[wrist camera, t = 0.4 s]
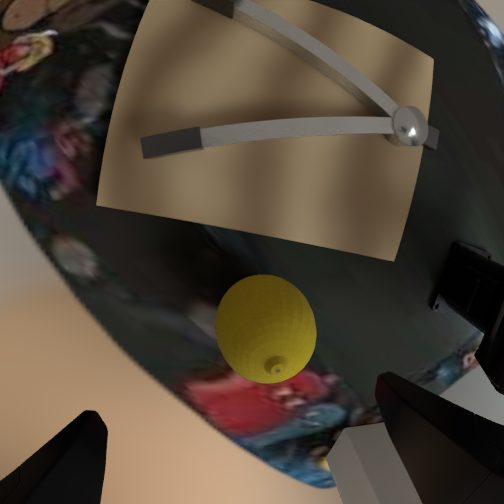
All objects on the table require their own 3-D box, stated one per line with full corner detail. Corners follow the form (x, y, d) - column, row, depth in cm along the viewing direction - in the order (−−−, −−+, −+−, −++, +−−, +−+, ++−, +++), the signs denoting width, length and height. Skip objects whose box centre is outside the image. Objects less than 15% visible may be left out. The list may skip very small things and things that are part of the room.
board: (424, 62, 16) (433, 59, 15) (385, 256, 21) (393, 261, 19) (163, -17, 13) (161, -25, 12) (103, 202, 17) (96, 205, 16)
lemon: (215, 255, 19) (217, 318, 11) (299, 258, 20) (348, 317, 12) (213, 329, 21) (216, 412, 13) (289, 329, 21) (323, 406, 14)
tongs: (432, 71, 16) (451, 66, 13) (406, 218, 19) (425, 226, 17) (195, -11, 12) (194, -29, 10) (146, 158, 16) (136, 158, 13)
